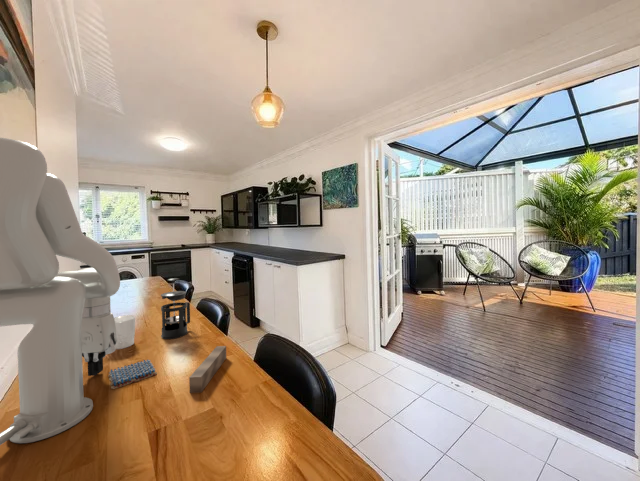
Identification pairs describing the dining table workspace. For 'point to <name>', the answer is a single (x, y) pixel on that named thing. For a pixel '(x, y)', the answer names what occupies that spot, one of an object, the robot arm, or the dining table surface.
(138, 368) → the woven mat
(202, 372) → the bar
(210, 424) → the dining table surface
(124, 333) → the white cup
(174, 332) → the french press
